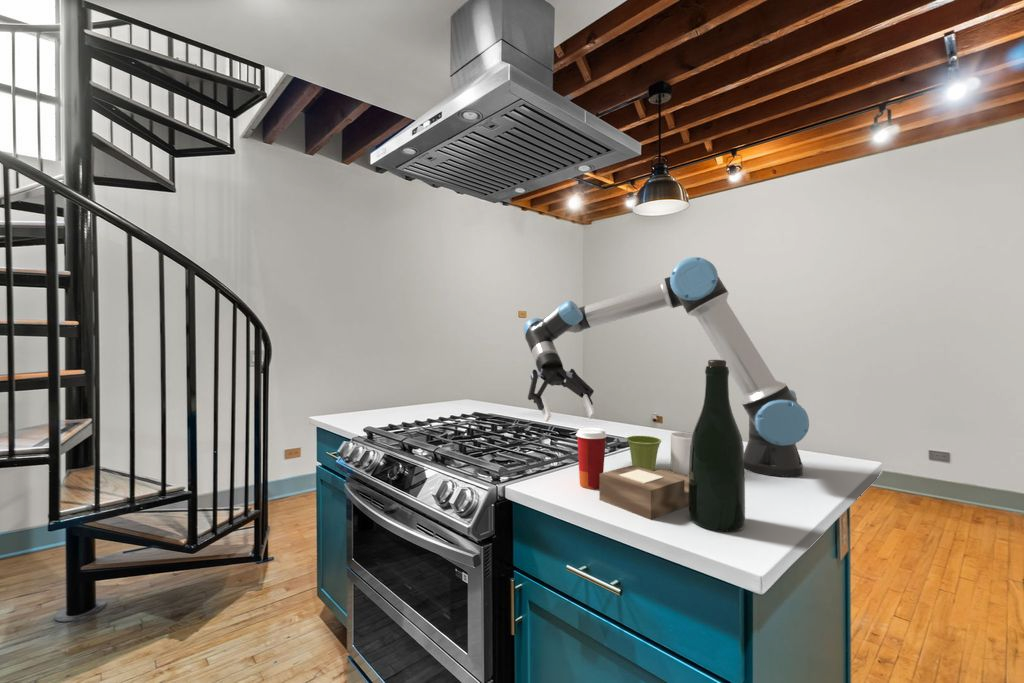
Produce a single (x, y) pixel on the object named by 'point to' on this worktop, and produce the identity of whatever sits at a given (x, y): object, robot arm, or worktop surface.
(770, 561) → the worktop surface
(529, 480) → the worktop surface
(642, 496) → the step riser
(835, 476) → the worktop surface
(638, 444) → the plant pot
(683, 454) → the mug
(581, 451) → the paper cup
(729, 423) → the dark green wine bottle
